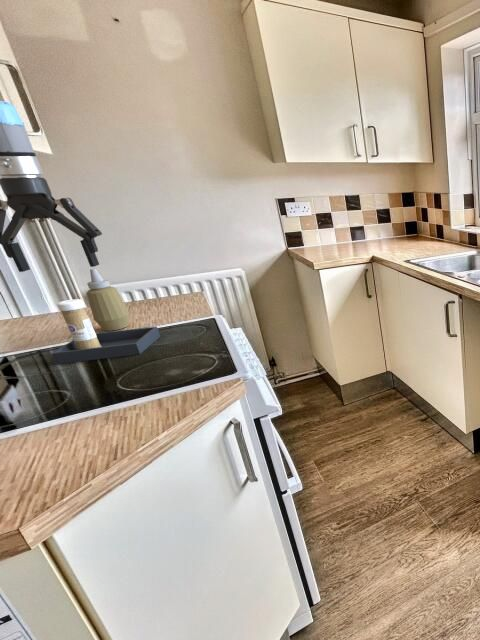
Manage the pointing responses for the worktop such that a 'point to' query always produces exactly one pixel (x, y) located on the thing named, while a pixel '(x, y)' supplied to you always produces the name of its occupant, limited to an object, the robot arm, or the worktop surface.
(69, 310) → the sprinkles bottle
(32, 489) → the worktop surface
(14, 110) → the robot arm
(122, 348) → the serving tray
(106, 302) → the squeeze bottle
